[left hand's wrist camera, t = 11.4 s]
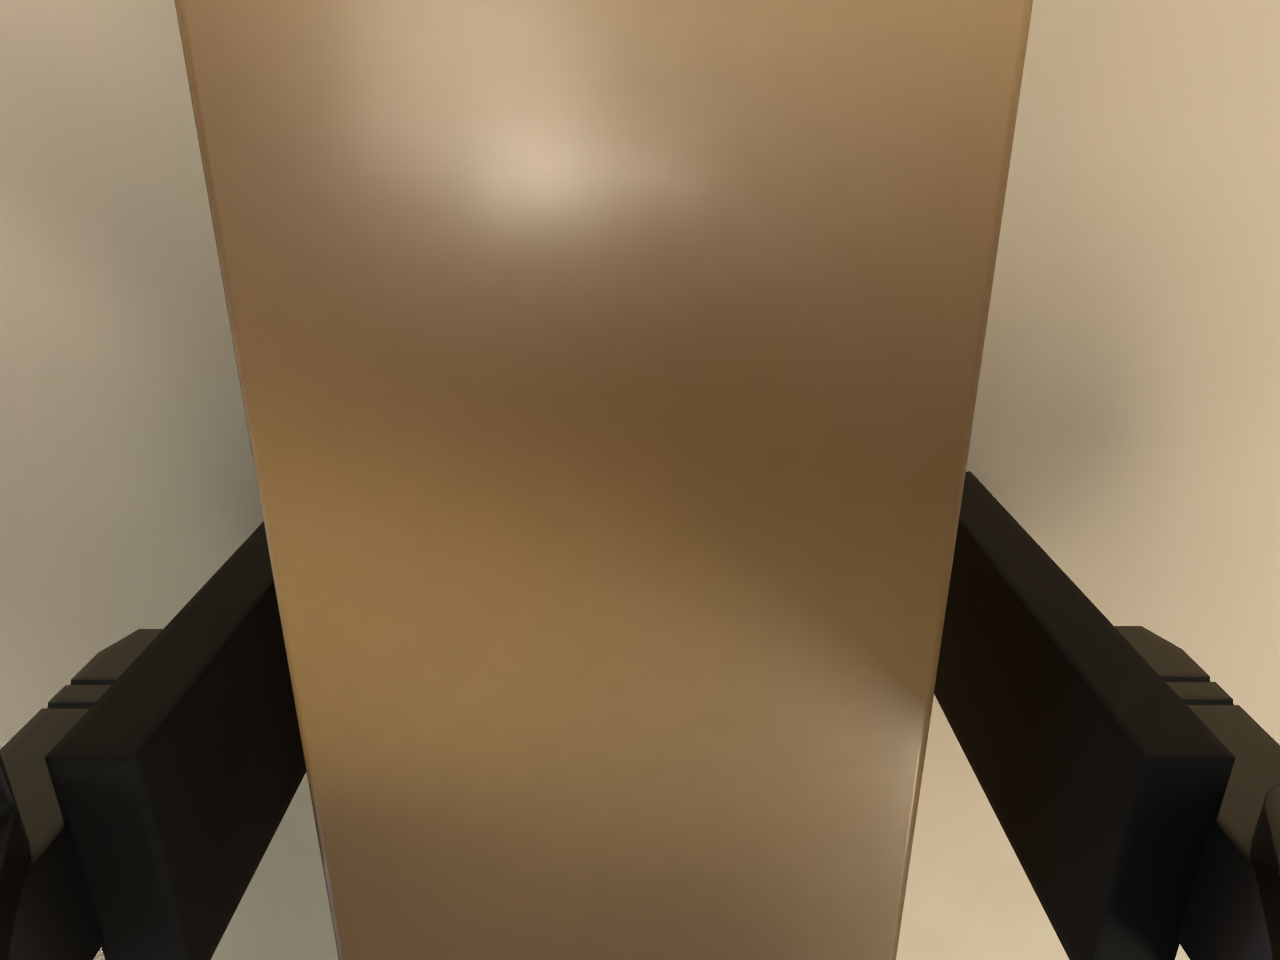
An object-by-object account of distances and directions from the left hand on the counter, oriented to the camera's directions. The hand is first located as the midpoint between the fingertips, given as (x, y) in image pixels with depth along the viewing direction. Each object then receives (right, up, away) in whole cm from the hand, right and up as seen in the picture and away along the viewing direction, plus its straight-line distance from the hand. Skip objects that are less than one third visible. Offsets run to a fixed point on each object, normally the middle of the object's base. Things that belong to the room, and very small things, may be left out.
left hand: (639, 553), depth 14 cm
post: (0, +32, -10) cm, 34 cm away
